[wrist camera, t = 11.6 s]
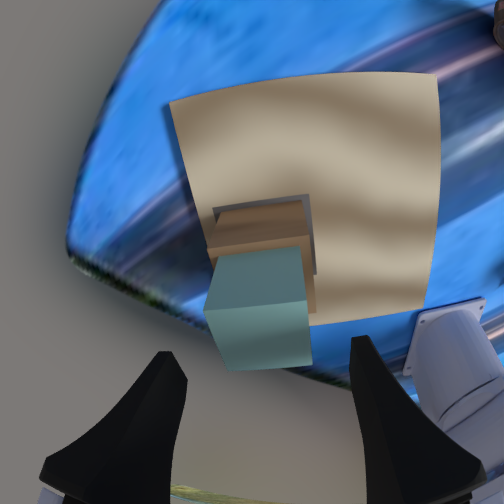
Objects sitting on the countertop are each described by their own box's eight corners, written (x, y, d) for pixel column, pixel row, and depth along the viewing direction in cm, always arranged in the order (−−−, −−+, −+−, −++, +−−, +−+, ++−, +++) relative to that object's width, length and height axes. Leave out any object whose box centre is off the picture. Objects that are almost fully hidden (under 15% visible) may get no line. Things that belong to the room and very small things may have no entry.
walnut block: (309, 267, 20) (316, 312, 16) (238, 276, 21) (230, 321, 17) (301, 199, 18) (309, 234, 14) (221, 212, 18) (207, 248, 15)
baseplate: (419, 301, 22) (422, 308, 22) (235, 326, 25) (234, 333, 24) (430, 74, 13) (436, 74, 13) (173, 101, 16) (168, 102, 15)
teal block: (306, 307, 16) (312, 364, 13) (236, 315, 17) (227, 371, 13) (299, 245, 14) (306, 300, 11) (218, 256, 15) (202, 310, 11)
